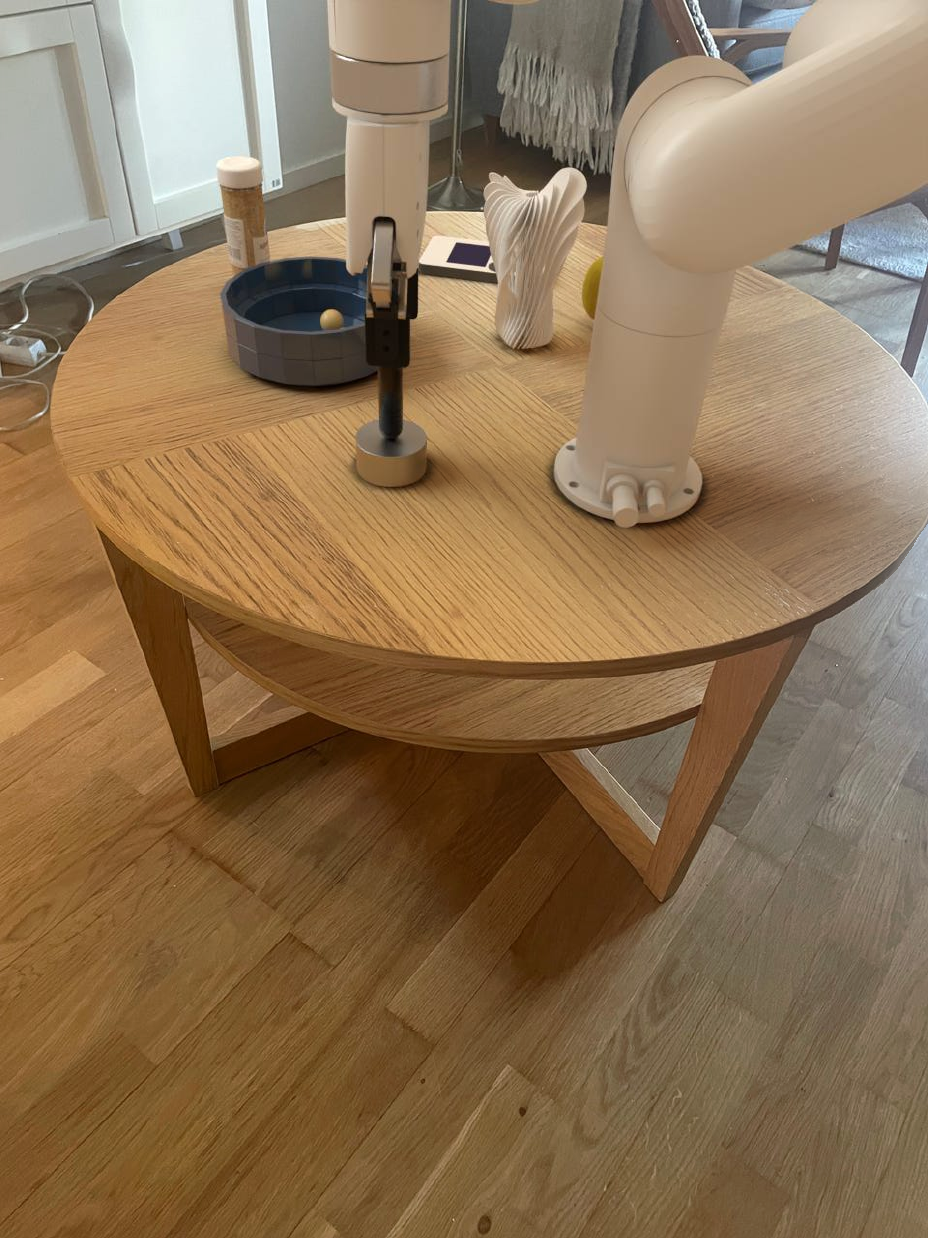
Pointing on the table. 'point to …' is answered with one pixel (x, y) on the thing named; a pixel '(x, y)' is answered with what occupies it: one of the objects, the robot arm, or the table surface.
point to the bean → (331, 320)
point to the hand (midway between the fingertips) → (393, 338)
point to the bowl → (297, 321)
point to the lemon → (592, 287)
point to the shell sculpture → (531, 250)
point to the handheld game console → (459, 259)
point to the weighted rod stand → (391, 436)
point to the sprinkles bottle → (243, 211)
